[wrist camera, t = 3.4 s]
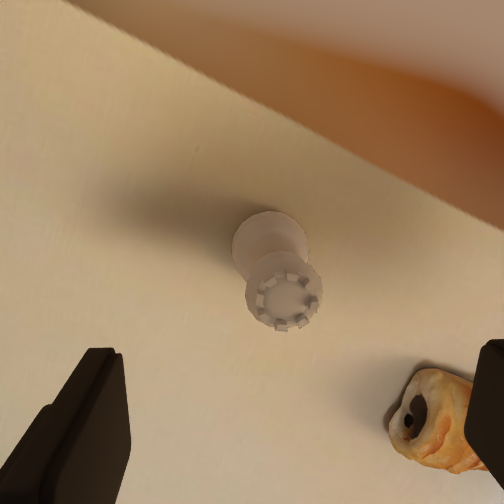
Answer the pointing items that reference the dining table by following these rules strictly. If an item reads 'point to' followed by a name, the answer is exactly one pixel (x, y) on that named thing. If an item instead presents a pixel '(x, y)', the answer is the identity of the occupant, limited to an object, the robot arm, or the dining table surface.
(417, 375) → the pastry
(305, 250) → the rook chess piece
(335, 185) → the dining table surface
